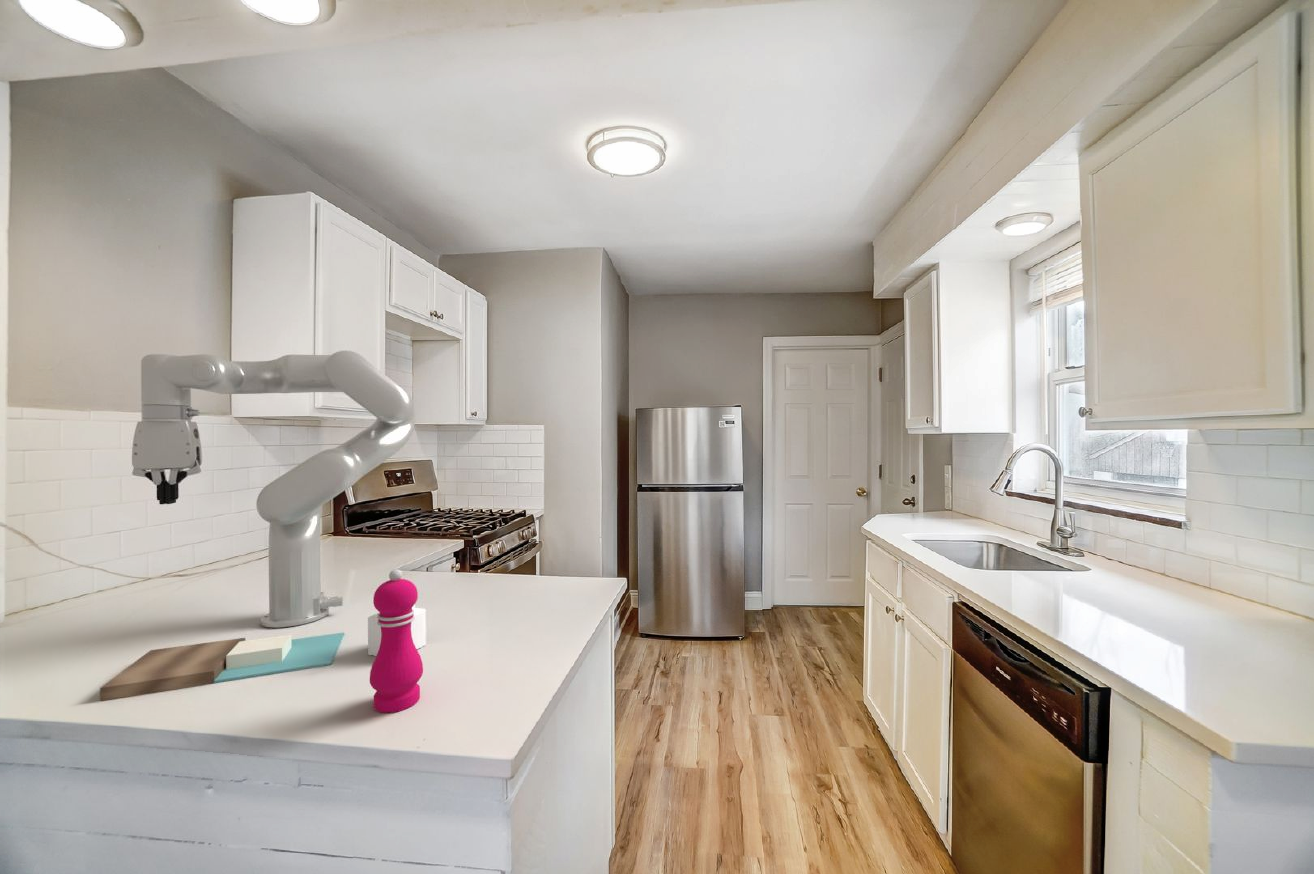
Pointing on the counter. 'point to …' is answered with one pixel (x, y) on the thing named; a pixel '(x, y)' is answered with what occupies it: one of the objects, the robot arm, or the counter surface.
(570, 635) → the counter surface
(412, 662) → the pepper mill
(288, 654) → the mat
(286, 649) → the block
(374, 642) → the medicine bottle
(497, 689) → the counter surface
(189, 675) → the board
